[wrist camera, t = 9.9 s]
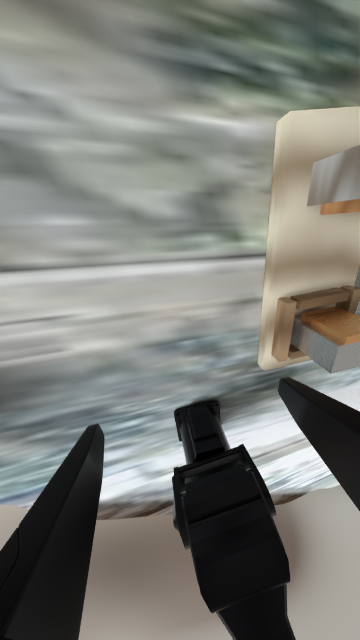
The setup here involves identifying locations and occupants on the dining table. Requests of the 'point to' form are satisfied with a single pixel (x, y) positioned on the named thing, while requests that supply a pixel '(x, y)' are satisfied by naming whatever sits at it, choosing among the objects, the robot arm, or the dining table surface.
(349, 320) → the white wood-topped block
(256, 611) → the robot arm
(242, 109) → the dining table surface
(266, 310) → the cream wooden stand
